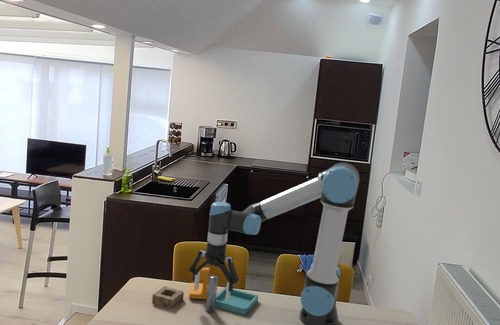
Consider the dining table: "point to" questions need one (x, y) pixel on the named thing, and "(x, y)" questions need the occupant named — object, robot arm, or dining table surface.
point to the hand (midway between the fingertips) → (211, 293)
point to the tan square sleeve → (167, 297)
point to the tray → (236, 301)
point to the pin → (211, 294)
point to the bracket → (201, 285)
